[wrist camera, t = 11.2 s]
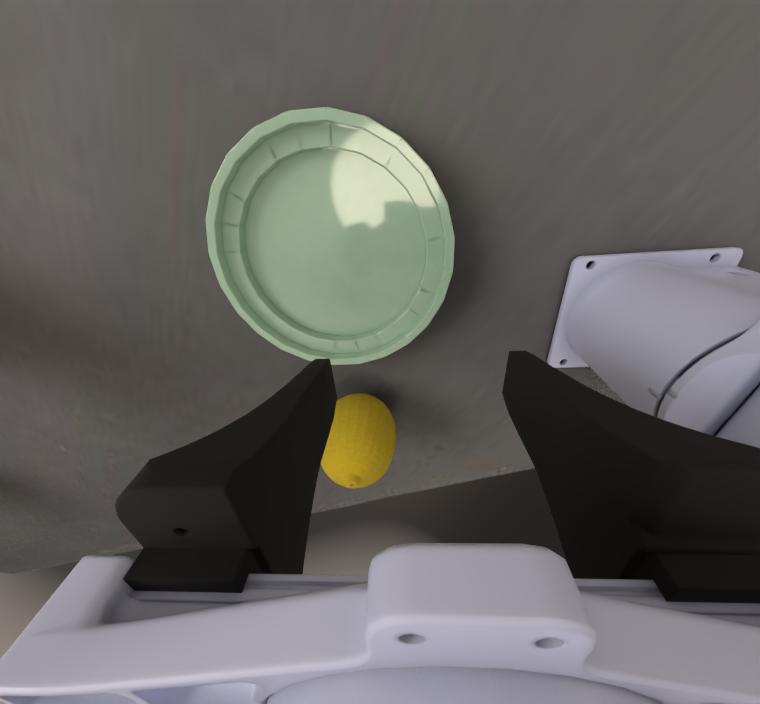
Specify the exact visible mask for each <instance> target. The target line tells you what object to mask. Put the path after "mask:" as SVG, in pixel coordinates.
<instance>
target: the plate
mask: <svg viewBox="0 0 760 704" xmlns="http://www.w3.org/2000/svg"><path fill="white" fill-rule="evenodd" d="M206 231H207V241H208V251H209V256H210V259H211V262H212V265H213V267H214V270H215V273H216V276H217V279H218V282H219V284H220V286H221V288H222V290H223V291H224V293H225V294H226V296H227V298H228V299H229V301H230V302H231V304H232V306H233V307H234V309H235V310H236V311H237V313H238V314H239V315H240V316H241V317H242V318H243V319H244V320H245V321H246V322H247V323H248V324H249V325H250V326H251V327H252V328H253V329H254V330H255V332H256V333H258V334H259V335H260V336H262V337H263V338H265V339H266V340H268V341H269V342H271V343H272V344H274V345H275V346H277V347H278V348H280V349H282V350H283V351H286V352H288V353H291V354H293V355H295V356H298V357H300V358H303V359H305V360H308V361H313V360H315V359H325V358H330V362H331V365H347V364H361V363H365V362H369V361H372V360H376V359H380V358H383V357H386V356H388V355H390V354H391V353H393V352H395V351H397V350H399V349H400V348H402V347H404V346H406V345H407V344H409V343H410V342H411V341H412V340H413V339H414V338H415V337H416V336H417V335H419V334H420V333H421V332H422V331H423V330H424V329H425V328H426V327H427V326H428V325H429V323H430V322H431V320H432V319H433V317H434V316H435V314H436V312H437V311H438V309H439V308H440V306H441V305H442V303H443V301H444V299H445V296H446V292H447V289H448V286H449V283H450V280H451V277H452V274H453V267H454V247H455V238H454V237H455V235H454V230H453V226H452V221H451V216H450V212H449V207H448V203H447V200H446V198H445V196H444V194H443V192H442V190H441V188H440V186H439V184H438V182H437V180H436V178H435V176H434V174H433V173H432V171H431V169H430V168H429V166H428V165H427V164H426V163H425V161H424V160H423V159H422V158H421V157H420V156H419V155H418V154H417V153H416V152H415V151H414V149H413V148H412V147H411V146H410V145H409V144H408V143H407V142H406V141H405V140H404V139H403V138H402V137H401V136H399V135H398V134H396V133H394V132H393V131H391V130H389V129H388V128H386V127H384V126H383V125H381V124H379V123H378V122H376V121H374V120H373V119H371V118H369V117H366V116H365V115H361V114H356V113H352V112H348V111H343V110H339V109H335V108H331V107H319V108H309V109H299V110H289V111H286V112H284V113H282V114H280V115H277V116H275V117H273V118H271V119H269V120H267V121H265V122H263V123H261V124H259V125H257V126H254V128H252V129H251V130H250V131H249V132H248V133H247V134H246V135H245V136H244V137H243V138H242V139H241V140H240V141H239V142H238V143H237V144H236V145H235V146H234V147H233V148H232V149H231V150H230V151H229V152H228V154H227V155H226V157H225V159H224V161H223V163H222V165H221V167H220V169H219V171H218V173H217V175H216V177H215V179H214V181H213V183H212V186H211V190H210V196H209V202H208V208H207V214H206Z"/></svg>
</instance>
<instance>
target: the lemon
mask: <svg viewBox="0 0 760 704" xmlns="http://www.w3.org/2000/svg"><path fill="white" fill-rule="evenodd" d="M395 445H396V430H395V423H394V419H393V417H392V415H391V413H390V411H389V409H388V408H387V407H386V405H385V404H384V403H383V402H382V401H381V400H379V399H378V398H376V397H374V396H372V395H369V394H364V393H354V394H350V395H347V396H345V397H342V398H341V399H339V400H338V401H337V402H336V408H335V414H334V419H333V423H332V426H331V430H330V433H329V437H328V440H327V443H326V447H325V450H324V454H323V457H322V460H321V465H322V467H323V469H324V471H325V473H326V474H327V475H328V476H329V477H330V478H331V479H332V480H333V481H334V482H336V483H337V484H339V485H341V486H344V487H348V488H362V487H366V486H368V485H371V484H373V483H375V482H376V481H377V480H378V479H380V478H381V477H382V476H383V475H384V474H385V472H386V470H387V469H388V467H389V465H390V463H391V461H392V458H393V454H394V450H395Z"/></svg>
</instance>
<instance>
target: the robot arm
mask: <svg viewBox="0 0 760 704" xmlns="http://www.w3.org/2000/svg"><path fill="white" fill-rule="evenodd" d="M713 255H714V257H713V258H712V259H711V260H710V258H711V257H712V256H713ZM742 255H743V250H742V249H741V248H736V247H723V248H706V249H689V250H673V251H656V252H639V253H623V254H606V255H590V256H579V257H577V258H575V259H574V260H573V261H572V263H571V266H570V270H569V274H568V278H567V282H566V286H565V290H564V294H563V298H562V302H561V306H560V310H559V314H558V319H557V323H556V327H555V331H554V335H553V339H552V343H551V347H550V351H549V355H548V359H547V363H548V364H547V363H546V362H544V361H542V360H541V359H539V358H538V357H536V356H534V355H532V354H531V353H529V352H527V351H509V356H508V362H507V368H506V374H505V380H504V386H503V392H502V393H503V396H504V400H505V403H506V406H507V409H508V412H509V415H510V417H511V419H512V421H513V423H514V425H515V427H516V429H517V432H518V434H519V436H520V438H521V440H522V442H523V444H524V446H525V448H526V450H527V452H528V454H529V456H530V458H531V460H532V462H533V464H534V466H535V469H536V471H537V473H538V476H539V479H540V482H541V484H542V487H543V490H544V493H545V495H546V498H547V501H548V504H549V507H550V510H551V513H552V516H553V519H554V522H555V525H556V528H557V532H558V535H559V538H560V541H561V544H562V548H563V551H564V554H565V558H566V560H565V559H563V558H562V557H560V556H559V555H557V554H555V553H554V552H552V551H551V550H549V549H547V548H545V547H540V546H534V545H527V544H472V543H471V544H470V543H468V544H467V543H466V544H465V543H410V544H403V545H396V546H391V547H389V548H387V549H386V550H384V551H382V552H380V553H378V554H377V555H376V556H374V557H373V559H372V562H371V565H370V567H369V574H368V575H307V574H302V573H303V565H304V557H305V549H306V542H307V536H308V528H309V522H310V516H311V510H312V504H313V498H314V492H315V487H316V481H317V476H318V472H319V468H320V464H321V460H322V457H323V454H324V450H325V447H326V443H327V440H328V437H329V433H330V430H331V426H332V423H333V419H334V414H335V408H336V401H337V395H336V390H335V384H334V379H333V373H332V368H331V362H330V358H325V359H315V360H313V361H312V362H311V363H310V364H309V365H308V366H307V367H305V368H304V369H303V370H302V371H301V372H300V373H299V374H298V375H297V376H296V377H295V378H293V379H292V380H291V381H290V382H289V383H288V384H287V385H285V386H284V387H283V388H282V389H280V390H279V391H278V392H277V393H276V394H274V395H273V396H272V397H271V398H269V399H268V400H267V401H265V402H264V403H263V404H261V405H260V406H258V407H257V408H255V409H254V410H252V411H251V412H249V413H248V414H246V415H245V416H243V417H241V418H239V419H238V420H236V421H234V422H232V423H231V424H229V425H227V426H225V427H224V428H222V429H220V430H218V431H216V432H214V433H212V434H210V435H208V436H206V437H204V438H202V439H199V440H197V441H195V442H193V443H191V444H188V445H186V446H184V447H181V448H178V449H176V450H173V451H171V452H168V453H166V454H163V455H161V456H158V457H156V458H153V459H150V460H149V461H148V463H147V464H146V465H145V466H144V467H143V468H142V470H141V471H140V472H139V473H138V474H137V476H136V477H135V478H134V479H133V480H132V481H131V483H130V484H129V485H128V486H127V487H126V488H125V490H124V491H123V492H122V493H121V494H120V496H119V497H118V498H117V501H116V504H115V507H116V511H117V516H118V517H119V519H120V520H121V522H122V523H123V524H124V525H125V527H126V528H127V529H128V530H129V531H130V532H131V533H132V535H133V536H134V537H135V538H136V539H137V540H138V541H139V543H140V544H141V545H142V546H143V547H144V548H143V550H142V551H141V553H140V554H139V556H138V557H137V559H136V560H134V559H132V558H129V557H126V556H100V555H88V556H85V557H83V558H82V559H81V560H80V562H79V563H78V564H77V565H76V567H75V568H74V569H73V570H72V572H71V573H70V574H69V575H68V576H67V578H66V579H65V580H64V581H63V583H62V584H61V585H60V586H59V588H58V589H57V590H56V591H55V592H54V594H53V595H52V596H51V598H50V599H49V600H48V601H47V602H46V604H45V605H44V606H43V607H42V609H41V610H40V611H39V612H38V614H37V615H36V616H35V617H34V618H33V620H32V621H31V622H30V624H29V625H28V626H27V627H26V628H25V630H24V631H23V632H22V633H21V635H20V636H19V637H18V638H17V640H16V641H15V642H14V643H13V644H12V646H11V647H10V648H9V649H8V651H7V652H6V653H5V654H4V656H3V657H2V658H1V659H0V701H1V702H3V703H6V704H760V273H758V272H755V271H751V270H747V269H744V268H740V267H737V265H738V263H739V261H740V259H741V257H742ZM590 261H592V264H591V266H589V267H587V268H586V265H587V263H588V262H590ZM563 359H565V360H564V361H563V362H560V361H561V360H563ZM568 367H590V368H591V369H592V370H593V371H594V372H595V373H596V374H597V375H598V376H599V377H600V378H601V379H602V380H603V381H604V382H605V383H606V384H607V385H608V386H609V387H610V388H611V389H612V390H613V391H614V392H615V393H616V394H617V395H618V396H619V397H620V398H621V399H622V400H623V401H624V402H625V403H626V404H627V405H628V406H627V405H624V404H622V403H620V402H618V401H615V400H613V399H611V398H609V397H607V396H605V395H602V394H600V393H598V392H596V391H595V390H593V389H591V388H589V387H587V386H585V385H583V384H581V383H579V382H578V381H576V380H574V379H572V378H571V377H569V376H567V375H566V374H564V373H562V372H561V371H559V370H557V369H556V368H568ZM566 561H567V562H566Z"/></svg>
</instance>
